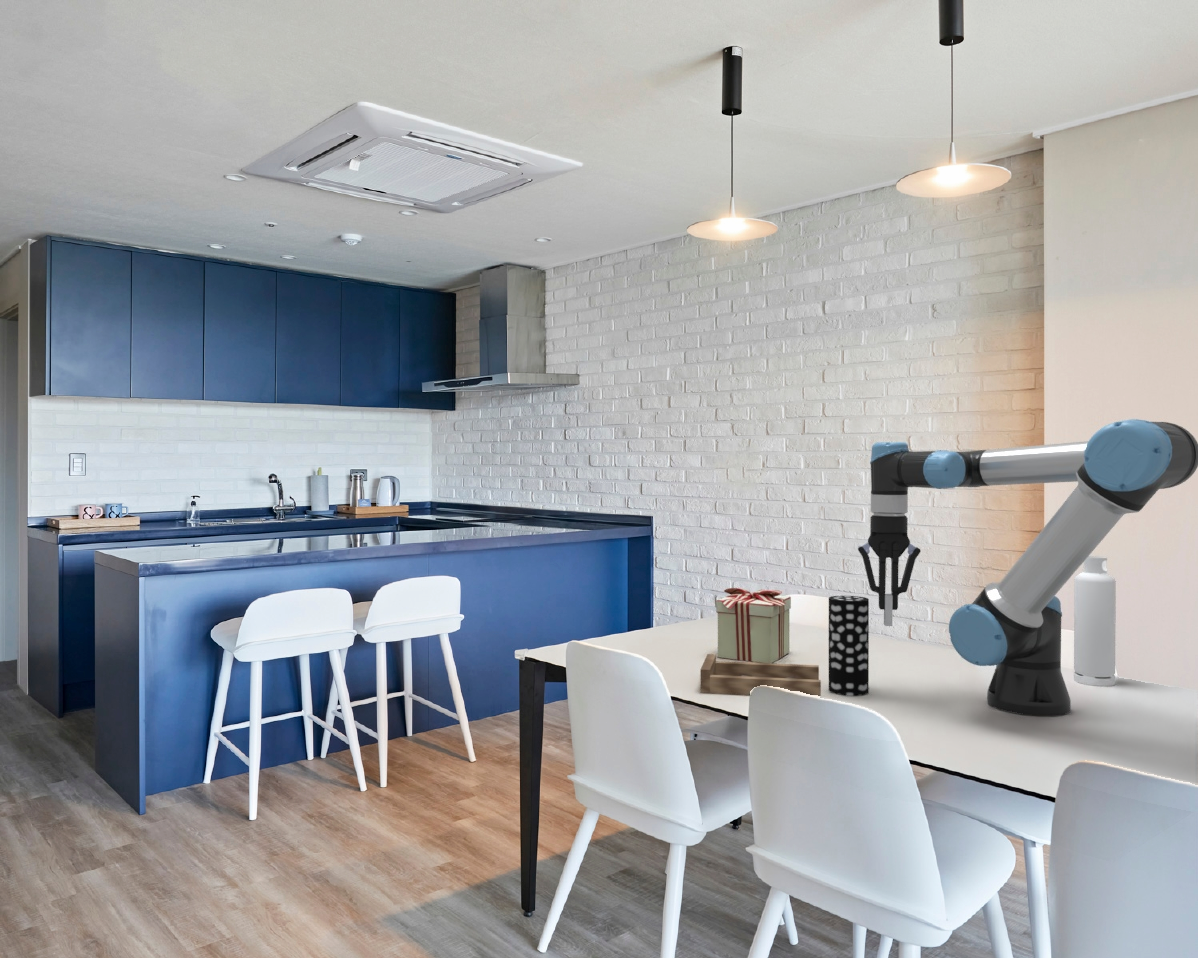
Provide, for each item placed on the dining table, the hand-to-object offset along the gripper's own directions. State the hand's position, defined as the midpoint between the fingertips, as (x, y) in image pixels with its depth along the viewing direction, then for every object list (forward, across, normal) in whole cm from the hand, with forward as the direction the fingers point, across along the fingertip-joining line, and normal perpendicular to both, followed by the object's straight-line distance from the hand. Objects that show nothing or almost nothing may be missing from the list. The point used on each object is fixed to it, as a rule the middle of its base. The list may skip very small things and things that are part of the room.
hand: (888, 624), depth 190 cm
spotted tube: (+15, +8, 0) cm, 17 cm away
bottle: (+15, -46, -20) cm, 52 cm away
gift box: (+15, +29, -30) cm, 45 cm away
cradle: (+15, +27, 0) cm, 30 cm away
